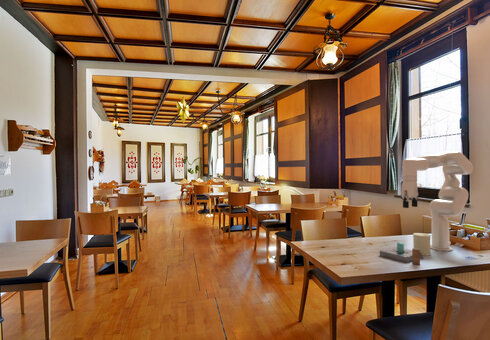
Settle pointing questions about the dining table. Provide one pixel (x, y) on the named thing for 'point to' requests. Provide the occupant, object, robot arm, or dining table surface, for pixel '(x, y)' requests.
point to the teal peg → (400, 247)
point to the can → (422, 243)
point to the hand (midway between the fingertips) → (410, 207)
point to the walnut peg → (416, 256)
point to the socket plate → (398, 254)
